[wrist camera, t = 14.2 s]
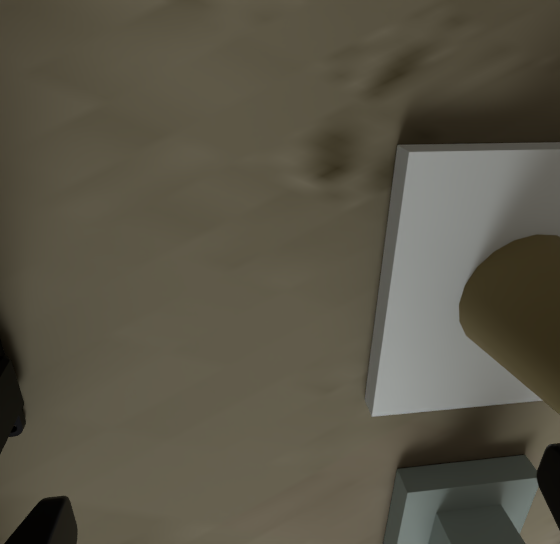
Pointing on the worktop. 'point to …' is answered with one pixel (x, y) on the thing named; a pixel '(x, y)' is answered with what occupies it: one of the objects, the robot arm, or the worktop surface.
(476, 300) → the cork
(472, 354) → the arbor press
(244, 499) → the worktop surface
